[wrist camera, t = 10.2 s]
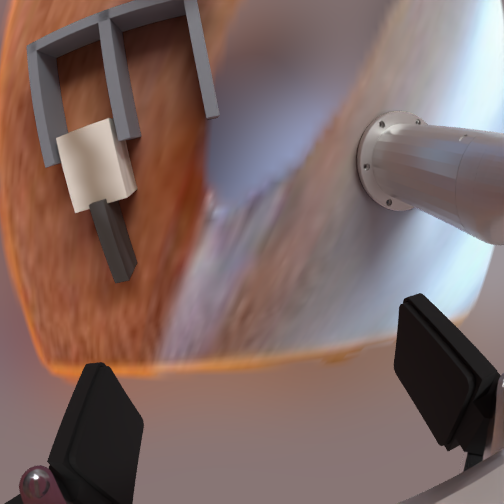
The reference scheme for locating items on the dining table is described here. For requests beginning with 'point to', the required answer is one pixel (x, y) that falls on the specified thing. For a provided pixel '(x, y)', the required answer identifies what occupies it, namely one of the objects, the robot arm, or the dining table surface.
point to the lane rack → (107, 66)
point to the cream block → (101, 188)
